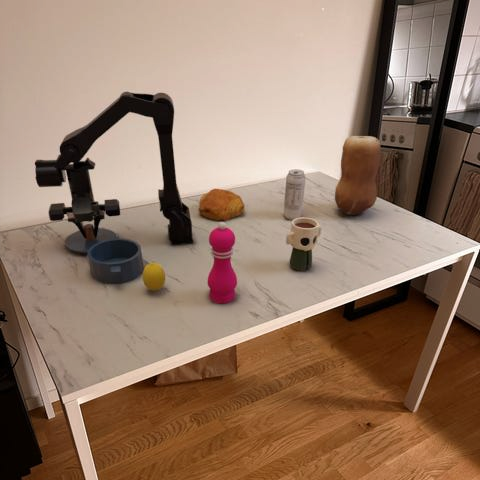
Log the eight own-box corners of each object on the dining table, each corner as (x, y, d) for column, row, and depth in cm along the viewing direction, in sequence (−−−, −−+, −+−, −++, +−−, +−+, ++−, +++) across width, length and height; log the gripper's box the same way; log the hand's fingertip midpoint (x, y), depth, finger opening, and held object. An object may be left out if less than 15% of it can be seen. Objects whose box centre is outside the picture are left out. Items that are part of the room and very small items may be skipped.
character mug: (291, 277, 122) (295, 232, 114) (276, 265, 126) (280, 221, 119) (324, 267, 126) (330, 224, 118) (309, 256, 131) (314, 213, 123)
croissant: (215, 205, 162) (213, 183, 158) (251, 211, 154) (250, 187, 150) (188, 218, 153) (185, 194, 149) (225, 225, 144) (223, 200, 140)
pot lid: (116, 229, 140) (114, 213, 137) (118, 252, 129) (115, 235, 126) (67, 233, 137) (63, 217, 134) (64, 257, 126) (59, 239, 123)
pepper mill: (207, 288, 116) (205, 215, 104) (235, 288, 117) (236, 215, 105) (208, 305, 111) (206, 230, 98) (237, 304, 111) (239, 229, 99)
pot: (141, 250, 131) (138, 232, 128) (145, 286, 117) (143, 266, 113) (92, 255, 129) (88, 236, 125) (90, 292, 114) (86, 272, 111)
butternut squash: (346, 201, 162) (359, 127, 147) (380, 213, 155) (397, 136, 140) (323, 212, 154) (334, 136, 139) (357, 225, 147) (373, 146, 132)
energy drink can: (304, 215, 152) (309, 171, 143) (296, 222, 148) (300, 176, 139) (288, 211, 155) (292, 167, 146) (279, 217, 151) (283, 172, 142)
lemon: (162, 298, 113) (159, 270, 108) (141, 295, 114) (137, 267, 109) (169, 286, 117) (167, 258, 112) (148, 283, 118) (145, 256, 113)
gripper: (40, 199, 115) (54, 254, 124) (116, 193, 118) (124, 247, 128) (44, 183, 123) (57, 235, 133) (115, 178, 127) (123, 229, 136)
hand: (90, 237), depth 132 cm, fingers closed on pot lid, 3 cm apart
